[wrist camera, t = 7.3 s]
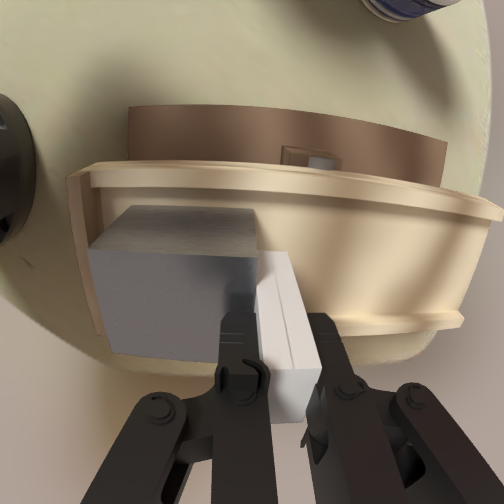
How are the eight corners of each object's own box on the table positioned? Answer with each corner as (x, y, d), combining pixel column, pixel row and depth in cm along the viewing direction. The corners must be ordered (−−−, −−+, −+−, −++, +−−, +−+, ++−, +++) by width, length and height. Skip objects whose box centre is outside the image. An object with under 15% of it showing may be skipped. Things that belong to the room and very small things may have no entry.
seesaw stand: (144, 287, 25) (127, 324, 21) (134, 107, 18) (106, 107, 14) (400, 294, 27) (423, 326, 22) (439, 140, 20) (477, 151, 15)
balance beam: (121, 297, 19) (98, 341, 15) (105, 150, 15) (64, 165, 11) (436, 305, 21) (463, 341, 17) (474, 186, 16) (517, 208, 12)
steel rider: (140, 290, 16) (111, 352, 12) (131, 204, 14) (86, 249, 9) (247, 296, 16) (248, 364, 12) (253, 208, 14) (258, 257, 10)
